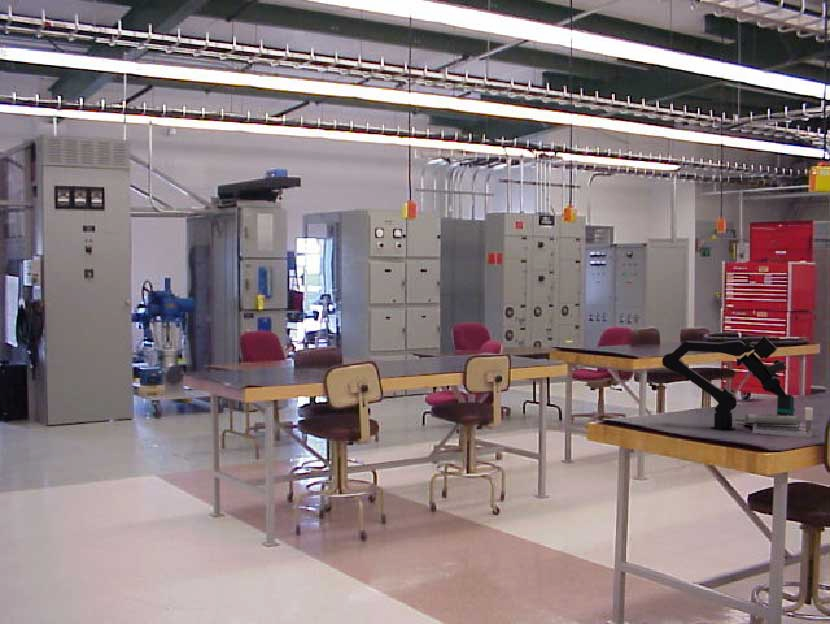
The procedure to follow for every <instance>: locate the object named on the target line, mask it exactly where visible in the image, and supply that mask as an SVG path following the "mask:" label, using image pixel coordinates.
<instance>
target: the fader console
mask: <svg viewBox="0 0 830 624" xmlns="http://www.w3.org/2000/svg"><path fill="white" fill-rule="evenodd" d="M752 425H753V426H752V434H755V433H760V434H761V435H768V434H769V436H784V437H794V438H795V437H797V438H808V439H811V438H812V437H813V433H812V432H813V431H812V428H811V429H808V430H806V428H802V427H799V428H798V427H789V426H788V427H787V426H775V425H760V424H757V423H754V424H752ZM760 434H759V435H760Z"/></svg>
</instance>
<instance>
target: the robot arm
mask: <svg viewBox="0 0 830 624" xmlns="http://www.w3.org/2000/svg"><path fill="white" fill-rule="evenodd" d="M777 351H778V348H777V347H776V346H775V344H774V343H773V342H772V341H770V340H769V339H768V338H767V337H765V336H762V337H761V339H760V340H758V341H757V343H755V344H754V345H752V344H745V343H744V342H743V341H741V340H730V341H723V342H722V341H721V342H715V341H714V342H712V341H709V342H708V341H690V340H685V341H683V342H682V343H681V344H680V345H679V346H678V347H677V348H676V349H675V350H674V351H672V352H668V353H667V354H665V355H664V356H663V358H662V360H661V363H662V366H664V368H665V369H668V370H669V371H672V372H674V373H677V374H679V375H681V376H683V377H684V378H685V379H687V380H688V381H690V382H691V383H693V384H694V385H695V386H697V387H699V389H701V390H703V391H704V392H705V393H707V394H709V396H711V397H712V398H713V399H714V400H715V402H716V403H717V404H716V405H715V408H714V411H715V412H714V419H713V420H714V422H713V424H714V425H712V426H710V428H711V429H717V430H722V431H728V430H735V429H736V427H733V422H732V419H733V412H731V411H733V410H734V409H735V408H736V407H737V404H738V398H737V396H736V395H735V392H733V391H731V390H729V388H727V387H726V386H724V388H720V387H717V385H715V384H713V383H712V382H711V381H709V380H708V379H706V378H705V377H704V376H702V375H700V374H699V373H698V372H696V371H695V370H694V369H692V368H691V367H689V366H688V365H687V364H686V363H685V362H684V361H683V360H682V358H683V356H685V355H686V354H687V353H688V352H703V353H721V354H725V355H729V356H733V357H740V358H736V366H737V367H740V365H742V366H744V368H746V369H747V370H748V372H749V373H751V375H752V376H753V377H754V378H756V380H758V382H759V383H760V385H761V386H762V389H763V390H764V391H765V392H769V393H771V394H774V395H775V396H777V395H778V396H780V397H782V398H784V399H787V398H788V396H787V395H786V394H787V393H786V392H785V390H784V389H783V387H782V386H781V378H780V375H779V374H778V373H779V372H781V371H785V370H787V365H786V364H785V361H784V360H779V359H776V360H773V364H770V365H768V364H766V363H764V362H763V361H762V359H765V360H767V359H768V358H769V357H771V356H772V355H773V354H774V353H775V352H777ZM746 353H749V354H746Z"/></svg>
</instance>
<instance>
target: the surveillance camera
mask: <svg viewBox="0 0 830 624" xmlns="http://www.w3.org/2000/svg"><path fill="white" fill-rule="evenodd" d="M786 395H787V396H788V398H787V399H784V398H782V397H780V396H778V395H776V396H777V399H776V400H777V401H776V416H778V414H779V416H795V413H794V412H795V398H794V396H793V395H792V394H788V393H786Z"/></svg>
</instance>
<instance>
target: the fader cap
mask: <svg viewBox="0 0 830 624" xmlns="http://www.w3.org/2000/svg"><path fill="white" fill-rule="evenodd" d="M804 409H805V410H804V420H805V429H806V430H808V429H811V430H812V421H813V418H814V417H813V416H814V415H813V414H814V413H813V411H814V410H813V407H807V406H805V407H804Z"/></svg>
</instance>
